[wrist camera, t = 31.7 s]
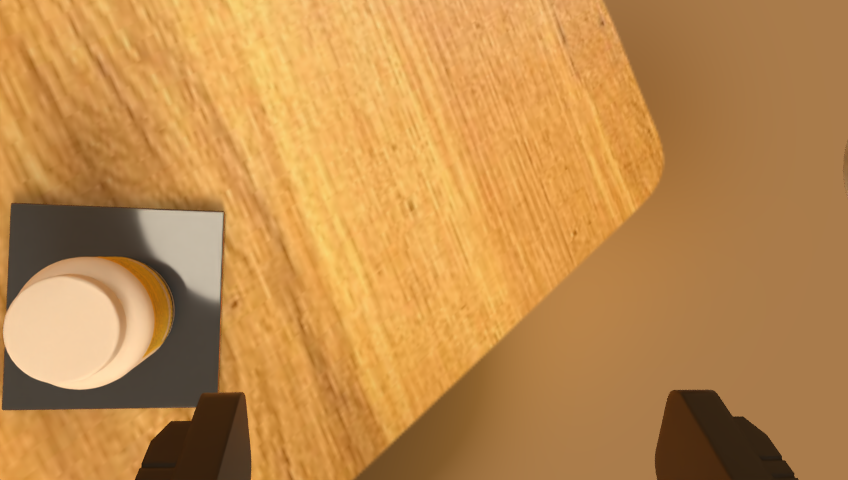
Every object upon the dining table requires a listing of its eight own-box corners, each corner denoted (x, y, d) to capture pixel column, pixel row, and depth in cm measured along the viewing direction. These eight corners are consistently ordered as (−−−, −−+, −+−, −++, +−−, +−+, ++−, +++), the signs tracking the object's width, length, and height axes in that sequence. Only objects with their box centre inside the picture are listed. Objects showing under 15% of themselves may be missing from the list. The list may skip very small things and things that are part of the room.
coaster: (225, 211, 38) (224, 211, 37) (218, 405, 37) (217, 407, 37) (14, 203, 36) (10, 202, 35) (5, 407, 35) (1, 410, 35)
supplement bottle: (124, 233, 36) (72, 225, 26) (198, 314, 37) (173, 335, 27) (34, 306, 35) (-54, 325, 26) (111, 388, 36) (54, 436, 26)
